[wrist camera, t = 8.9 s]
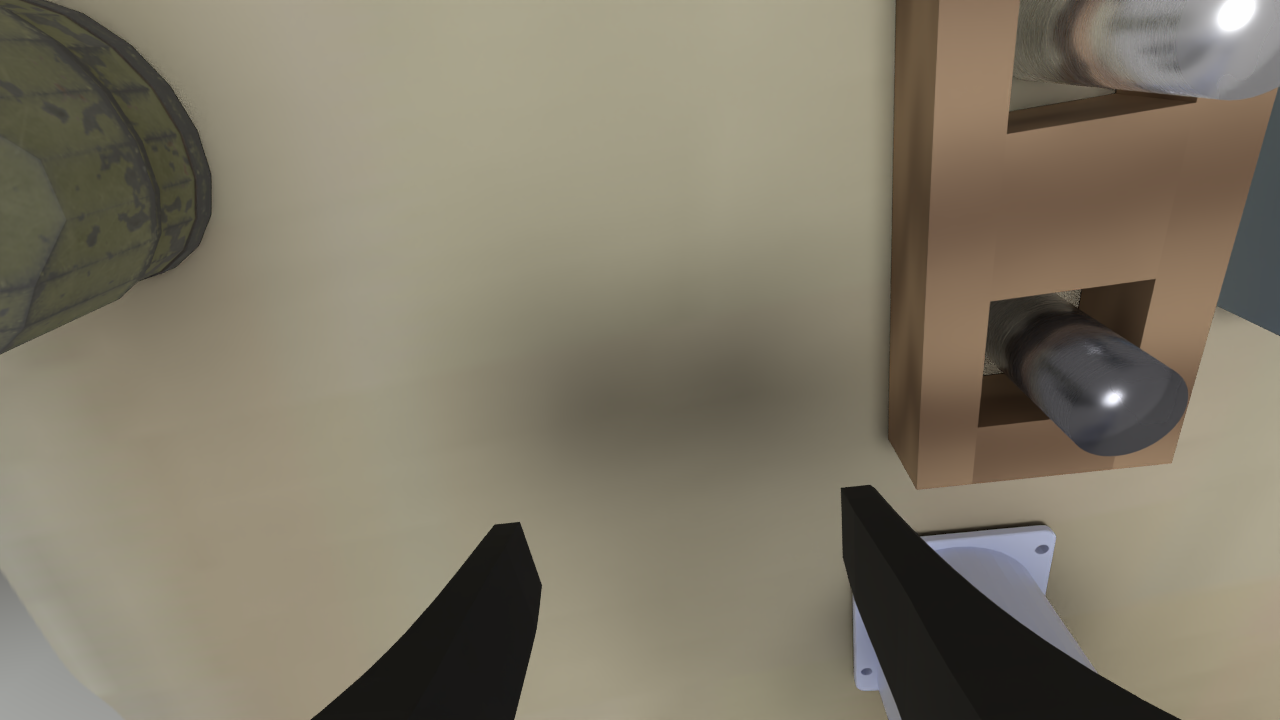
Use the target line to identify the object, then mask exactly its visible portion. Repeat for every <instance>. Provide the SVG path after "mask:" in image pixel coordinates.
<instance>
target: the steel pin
mask: <svg viewBox="0 0 1280 720" xmlns="http://www.w3.org/2000/svg"><path fill="white" fill-rule="evenodd" d="M1012 77H1015V78H1017V79H1022V80H1030V81H1040V82H1050V83H1060V84H1070V85H1080V86H1090V87H1100V88H1109V89H1119V90H1129V91H1139V92H1149V93H1159V94H1169V95H1179V96H1188V97H1198V98H1208V99H1218V100H1241V99H1246V98H1251V97H1255V96H1258V95H1261V94H1264V93H1266V92H1269V91H1271V90H1273V89H1275V88H1277V87H1279V86H1280V0H1020V4H1019V15H1018V25H1017V35H1016V45H1015V55H1014V65H1013V75H1012Z"/></svg>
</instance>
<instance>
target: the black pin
mask: <svg viewBox="0 0 1280 720" xmlns="http://www.w3.org/2000/svg"><path fill="white" fill-rule="evenodd" d="M985 355H986V356H987V357H988V358H989V359H990V360H991V361H992V362H993V363H994V364H995V365H996V366H997V367H998V368H999V369H1000V370H1001V371H1002V372H1003V373H1004V374H1005V375H1006V376H1007V377H1008V378H1009V379H1010V380H1011V381H1012V382H1013V383H1014V384H1015V385H1016V386H1017V387H1018V388H1019V389H1020V390H1021V391H1022V392H1023V393H1024V394H1025V395H1026V396H1027V397H1028V398H1029V399H1030V400H1032V401H1033V402H1034V403H1035V404H1036V405H1037V406H1038V407H1039V408H1040V409H1041V410H1042V411H1043V412H1044V413H1045V414H1046V415H1047V416H1048V417H1049V418H1050V419H1051V420H1052V421H1053V422H1054V423H1055V424H1056V425H1057V426H1058V427H1059V428H1060V429H1061V430H1062V431H1063V432H1064V433H1065V434H1066V435H1067V436H1068V437H1069V438H1070V439H1071V440H1072V441H1073V442H1074V443H1075V444H1076V445H1077V446H1078V447H1080V448H1081V449H1083V450H1084V451H1086V452H1088V453H1091V454H1094V455H1099V456H1120V455H1126V454H1130V453H1134V452H1137V451H1140V450H1142V449H1144V448H1147V447H1148V446H1150V445H1152V444H1154V443H1156V442H1157V441H1159V440H1160V439H1162V438H1163V437H1164V436H1165V435H1167V434H1168V433H1169V432H1170V431H1171V430H1172V429H1173V428H1174V427H1175V426H1176V424H1177V423H1178V422H1179V420H1180V419H1181V417H1182V416H1183V414H1184V412H1185V409H1186V407H1187V403H1188V388H1187V385H1186V383H1185V381H1184V379H1183V378H1182V377H1181V376H1180V375H1179V374H1178V373H1177V372H1176V371H1174V370H1173V369H1171V368H1170V367H1168V366H1166V365H1165V364H1163V363H1162V362H1160V361H1159V360H1157V359H1156V358H1154V357H1153V356H1151V355H1149V354H1148V353H1146V352H1145V351H1143V350H1142V349H1140V348H1139V347H1137V346H1136V345H1134V344H1132V343H1131V342H1129V341H1128V340H1126V339H1125V338H1123V337H1122V336H1120V335H1119V334H1117V333H1115V332H1114V331H1112V330H1111V329H1109V328H1108V327H1106V326H1105V325H1103V324H1102V323H1100V322H1098V321H1097V320H1095V319H1094V318H1092V317H1091V316H1089V315H1088V314H1086V313H1085V312H1083V311H1081V310H1080V309H1078V308H1077V307H1075V306H1074V305H1072V304H1071V303H1069V302H1068V301H1066V300H1064V299H1063V298H1061V297H1060V296H1058V295H1057V294H1055V293H1048V294H1041V295H1034V296H1026V297H1019V298H1012V299H1005V300H997V301H990V308H989V318H988V328H987V338H986V348H985Z"/></svg>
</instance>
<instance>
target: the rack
mask: <svg viewBox="0 0 1280 720" xmlns="http://www.w3.org/2000/svg"><path fill="white" fill-rule="evenodd" d="M1019 4H1020V0H896V40H895V96H894V151H893V207H892V262H891V318H890V373H889V429H888V439H889V441H890V443H891V444H892V446H893V448H894V450H895V452H896V453H897V455H898V457H899V459H900V461H901V462H902V464H903V466H904V468H905V470H906V471H907V473H908V475H909V477H910V478H911V480H912V482H913V484H914V486H915V487H916V489H917V490H919V489H928V488H938V487H948V486H957V485H967V484H976V483H986V482H996V481H1005V480H1015V479H1024V478H1034V477H1044V476H1053V475H1063V474H1072V473H1082V472H1091V471H1101V470H1111V469H1120V468H1130V467H1139V466H1149V465H1159V464H1168V463H1172V460H1173V456H1174V453H1175V449H1176V446H1177V442H1178V439H1179V435H1180V432H1181V428H1182V425H1183V421H1184V418H1185V414H1186V411H1187V407H1188V404H1189V400H1190V396H1191V393H1192V389H1193V386H1194V382H1195V379H1196V375H1197V372H1198V368H1199V365H1200V361H1201V358H1202V354H1203V351H1204V347H1205V344H1206V340H1207V337H1208V333H1209V330H1210V326H1211V323H1212V319H1213V316H1214V312H1215V308H1216V305H1217V301H1218V298H1219V294H1220V291H1221V287H1222V284H1223V280H1224V277H1225V273H1226V270H1227V266H1228V263H1229V259H1230V256H1231V252H1232V249H1233V245H1234V242H1235V238H1236V235H1237V231H1238V228H1239V224H1240V221H1241V217H1242V213H1243V210H1244V206H1245V203H1246V199H1247V196H1248V192H1249V189H1250V185H1251V182H1252V178H1253V175H1254V171H1255V168H1256V164H1257V161H1258V157H1259V154H1260V150H1261V147H1262V143H1263V140H1264V136H1265V133H1266V129H1267V126H1268V122H1269V118H1270V115H1271V111H1272V108H1273V104H1274V101H1275V97H1276V94H1277V90H1278V87H1277V88H1275V89H1273V90H1271V91H1269V92H1266V93H1264V94H1261V95H1258V96H1255V97H1251V98H1246V99H1241V100H1218V99H1208V98H1198V97H1188V96H1179V95H1169V94H1159V93H1149V92H1139V91H1129V90H1119V89H1117V90H1116V94H1110V95H1104V96H1098V97H1093V98H1087V99H1081V100H1075V101H1069V102H1063V103H1058V104H1052V105H1046V106H1040V107H1034V108H1028V109H1022V110H1017V111H1011V112H1009V106H1010V95H1011V85H1012V75H1013V65H1014V55H1015V45H1016V35H1017V25H1018V15H1019ZM1077 289H1082V293H1081V299H1080V305H1079V309H1080V310H1081V311H1083V312H1085V313H1086V314H1088V315H1089V316H1091V317H1092V318H1094V319H1095V320H1097V321H1098V322H1100V323H1102V324H1103V325H1105V326H1106V327H1108V328H1109V329H1111V330H1112V331H1114V332H1115V333H1117V334H1119V335H1120V336H1122V337H1123V338H1125V339H1126V340H1128V341H1129V342H1131V343H1132V344H1134V345H1136V346H1137V347H1139V348H1140V349H1142V350H1143V351H1145V352H1146V353H1148V354H1149V355H1151V356H1153V357H1154V358H1156V359H1157V360H1159V361H1160V362H1162V363H1163V364H1165V365H1166V366H1168V367H1170V368H1171V369H1173V370H1174V371H1176V372H1177V373H1178V374H1179V375H1180V376H1181V377H1182V378H1183V379H1184V381H1185V383H1186V385H1187V388H1188V403H1187V407H1186V409H1185V412H1184V414H1183V416H1182V417H1181V419H1180V420H1179V422H1178V423H1177V424H1176V426H1175V427H1174V428H1173V429H1172V430H1171V431H1170V432H1169V433H1168V434H1167V435H1165V436H1164V437H1163V438H1162V439H1160V440H1159V441H1157V442H1156V443H1154V444H1152V445H1150V446H1148V447H1147V448H1144V449H1142V450H1140V451H1137V452H1134V453H1130V454H1126V455H1120V456H1099V455H1094V454H1091V453H1088V452H1086V451H1084V450H1083V449H1081V448H1080V447H1078V446H1077V445H1076V444H1075V443H1074V442H1073V441H1072V440H1071V439H1070V438H1069V437H1068V436H1067V435H1066V434H1065V433H1064V432H1063V431H1062V430H1061V429H1060V428H1059V427H1058V426H1057V425H1056V424H1055V423H1054V422H1053V421H1052V420H1051V419H1050V418H1049V417H1048V416H1047V415H1046V414H1045V413H1044V412H1043V411H1042V410H1041V409H1040V408H1039V407H1038V406H1037V405H1036V404H1035V403H1034V402H1033V401H1032V400H1030V399H1029V398H1028V397H1027V396H1026V395H1025V394H1024V393H1023V392H1022V391H1021V390H1020V389H1019V388H1018V387H1017V386H1016V385H1015V384H1014V383H1013V382H1012V381H1011V380H1010V379H1009V378H1008V377H1007V376H1006V375H1005V374H1004V373H1003V374H995V375H987V376H983V368H984V358H985V348H986V338H987V328H988V318H989V308H990V301H997V300H1005V299H1012V298H1019V297H1026V296H1034V295H1041V294H1048V293H1056V292H1063V291H1070V290H1077Z"/></svg>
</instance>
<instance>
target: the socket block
mask: <svg viewBox="0 0 1280 720" xmlns="http://www.w3.org/2000/svg"><path fill="white" fill-rule="evenodd" d="M1216 306H1218V307H1220V308H1223V309H1225V310H1227V311H1229V312H1231V313H1233V314H1235V315H1237V316H1239V317H1241V318H1243V319H1246V320H1248V321H1250V322H1252V323H1254V324H1256V325H1258V326H1260V327H1262V328H1264V329H1266V330H1269V331H1271V332H1273V333H1275V334H1277V335H1279V336H1280V86H1279V87H1278V90H1277V94H1276V97H1275V101H1274V104H1273V108H1272V111H1271V115H1270V118H1269V122H1268V126H1267V129H1266V133H1265V136H1264V140H1263V143H1262V147H1261V150H1260V154H1259V157H1258V161H1257V164H1256V168H1255V171H1254V175H1253V178H1252V182H1251V185H1250V189H1249V192H1248V196H1247V199H1246V203H1245V206H1244V210H1243V213H1242V217H1241V221H1240V224H1239V228H1238V231H1237V235H1236V238H1235V242H1234V245H1233V249H1232V252H1231V256H1230V259H1229V263H1228V266H1227V270H1226V273H1225V277H1224V280H1223V284H1222V287H1221V291H1220V294H1219V298H1218V301H1217V305H1216Z"/></svg>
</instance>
